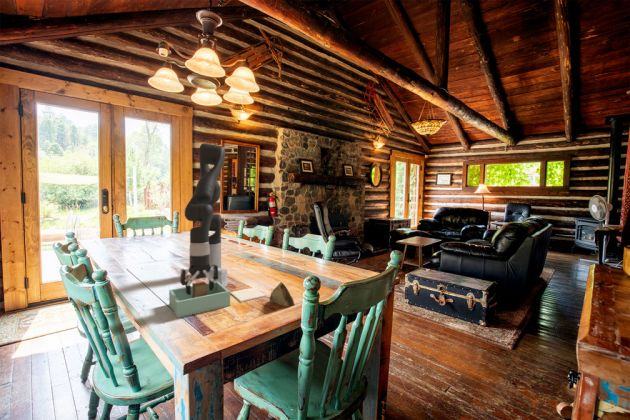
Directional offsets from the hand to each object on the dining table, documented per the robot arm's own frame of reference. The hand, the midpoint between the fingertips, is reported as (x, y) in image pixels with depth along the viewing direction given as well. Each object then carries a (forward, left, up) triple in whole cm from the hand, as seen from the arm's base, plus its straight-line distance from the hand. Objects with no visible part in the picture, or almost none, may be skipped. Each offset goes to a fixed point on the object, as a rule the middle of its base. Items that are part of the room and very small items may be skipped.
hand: (200, 292), depth 116 cm
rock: (+16, +29, -6) cm, 34 cm away
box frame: (0, 0, -6) cm, 6 cm away
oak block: (0, 0, -6) cm, 6 cm away
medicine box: (-18, +13, -6) cm, 23 cm away
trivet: (0, +21, -6) cm, 22 cm away
